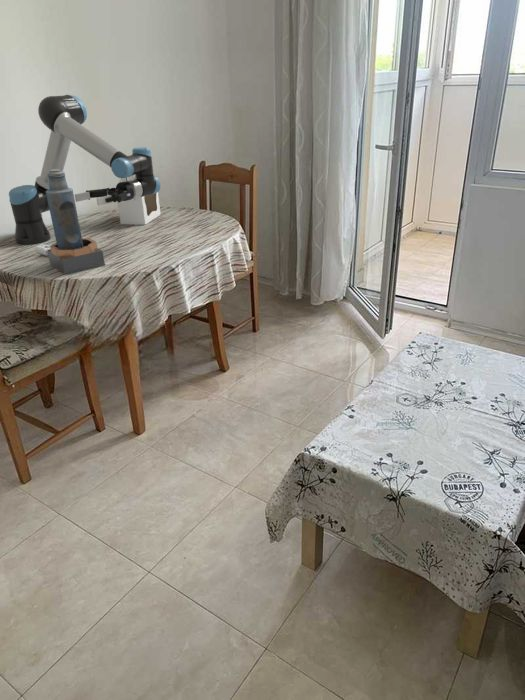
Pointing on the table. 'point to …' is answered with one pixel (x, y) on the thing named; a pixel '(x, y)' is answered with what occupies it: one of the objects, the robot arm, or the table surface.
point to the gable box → (138, 208)
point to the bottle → (63, 211)
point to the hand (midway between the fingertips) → (86, 200)
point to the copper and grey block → (76, 257)
